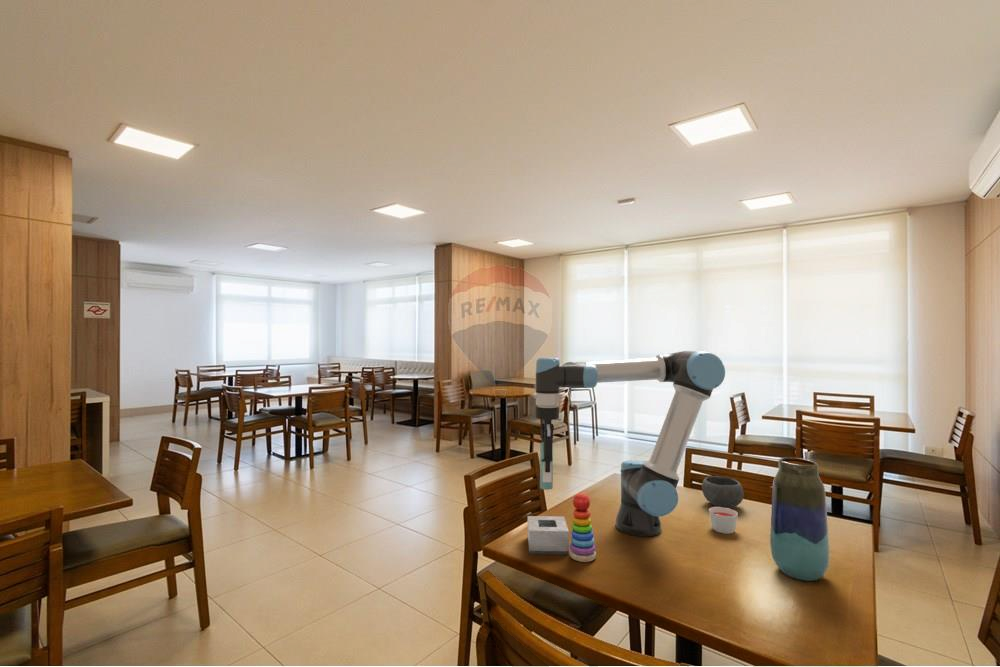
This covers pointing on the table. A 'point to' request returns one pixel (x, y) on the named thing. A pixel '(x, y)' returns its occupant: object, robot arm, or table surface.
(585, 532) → the stacking toy
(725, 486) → the bowl
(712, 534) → the table surface
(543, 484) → the peg
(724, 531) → the candle
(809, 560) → the vase
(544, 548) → the socket block
